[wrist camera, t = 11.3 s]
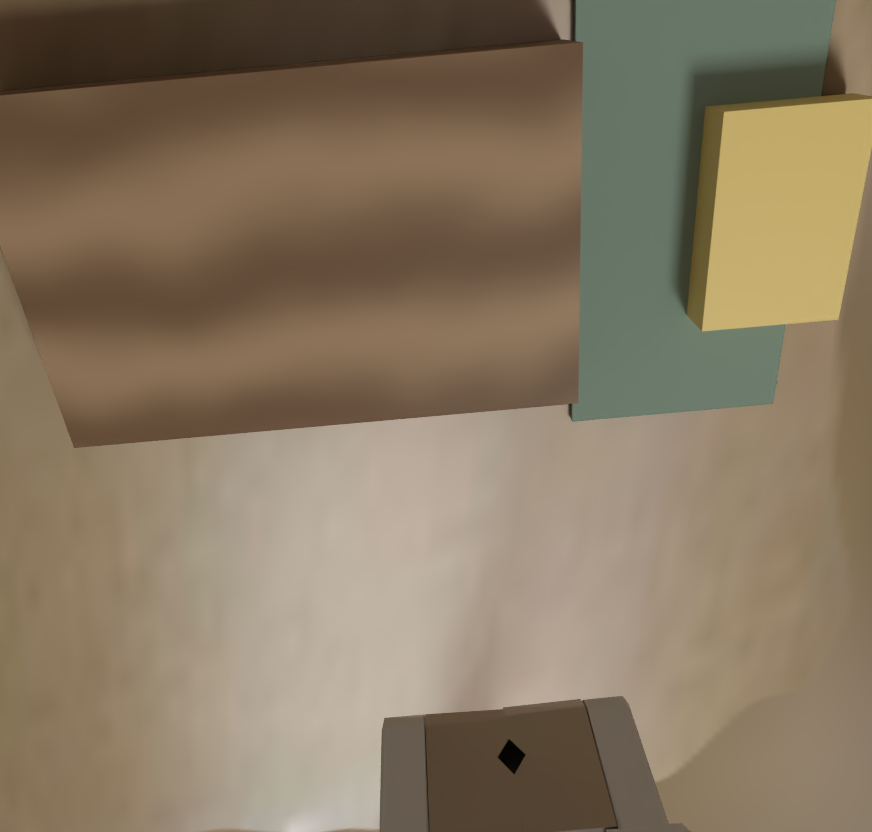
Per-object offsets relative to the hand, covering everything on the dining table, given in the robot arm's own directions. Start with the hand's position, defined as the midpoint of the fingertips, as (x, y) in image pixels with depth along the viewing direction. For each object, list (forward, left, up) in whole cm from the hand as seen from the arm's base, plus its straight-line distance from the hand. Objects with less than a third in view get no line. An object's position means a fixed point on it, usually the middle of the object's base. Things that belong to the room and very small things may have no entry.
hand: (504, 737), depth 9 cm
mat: (0, +11, -26) cm, 28 cm away
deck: (0, -5, -26) cm, 26 cm away
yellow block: (+1, +14, -24) cm, 28 cm away
